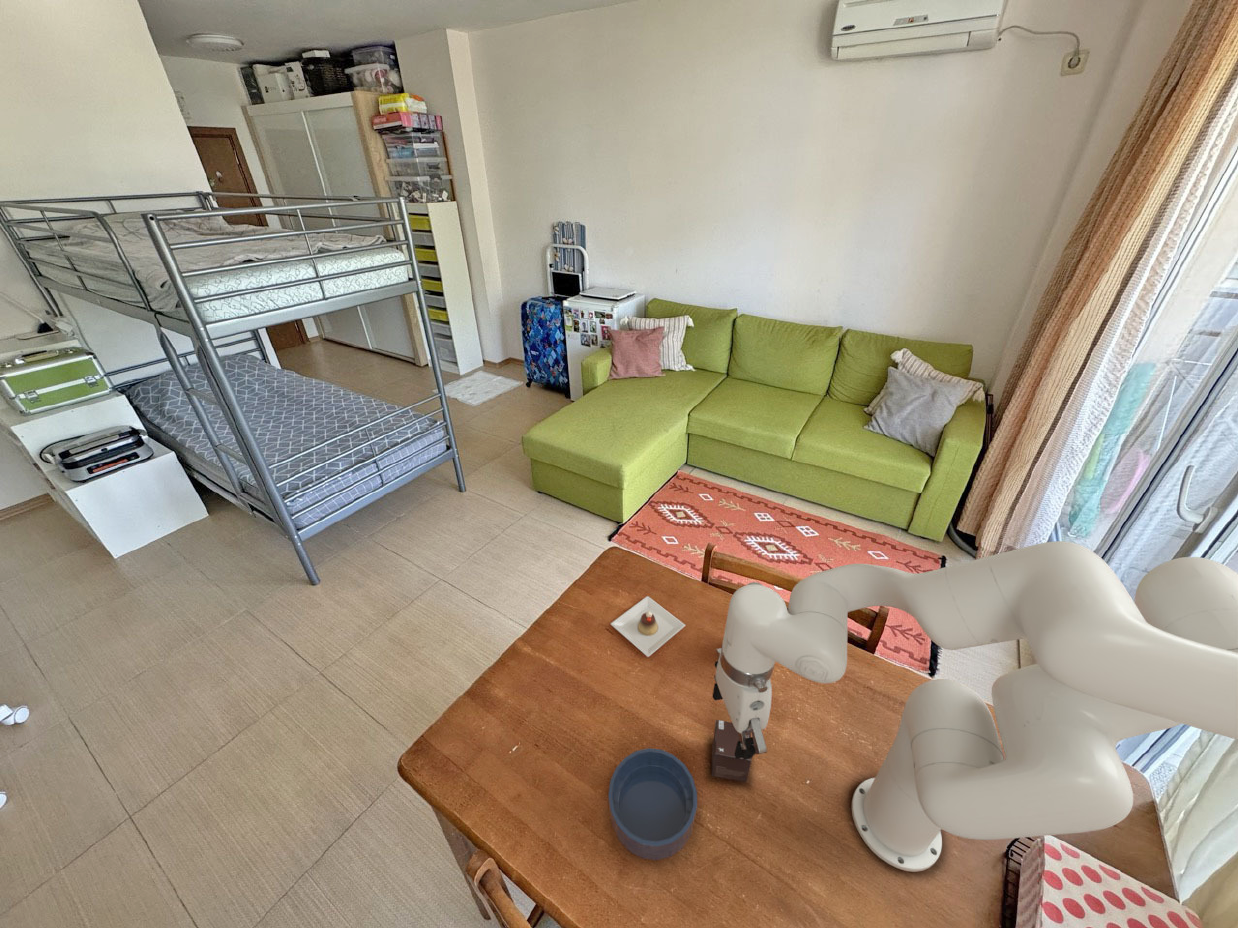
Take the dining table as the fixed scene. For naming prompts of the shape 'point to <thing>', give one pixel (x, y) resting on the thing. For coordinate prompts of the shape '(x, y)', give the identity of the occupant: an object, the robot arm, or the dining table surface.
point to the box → (728, 753)
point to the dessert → (647, 625)
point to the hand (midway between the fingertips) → (732, 724)
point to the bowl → (652, 803)
